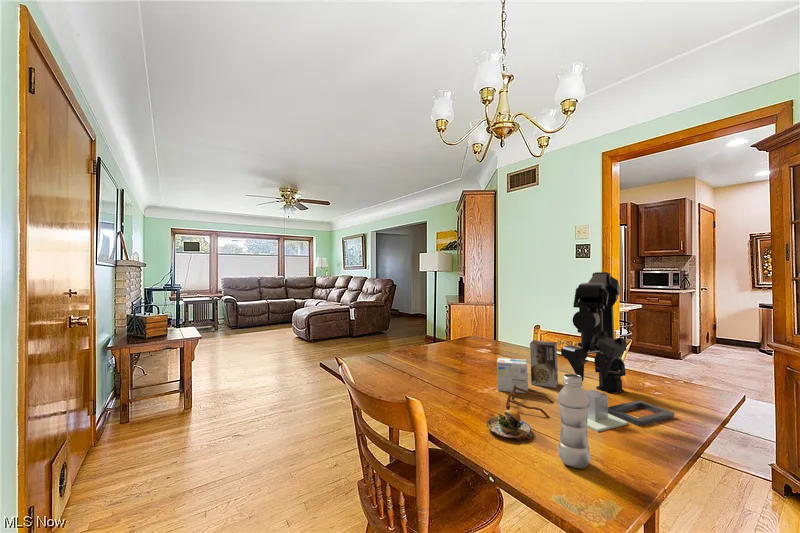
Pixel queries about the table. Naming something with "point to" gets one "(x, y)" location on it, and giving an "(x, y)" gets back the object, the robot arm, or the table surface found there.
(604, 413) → the block
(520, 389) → the glasses
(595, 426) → the felt pad
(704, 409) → the table surface
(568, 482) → the table surface
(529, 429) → the burger
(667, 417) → the socket frame
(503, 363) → the light bulb box
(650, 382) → the table surface
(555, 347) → the coffee box
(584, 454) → the plastic bottle
